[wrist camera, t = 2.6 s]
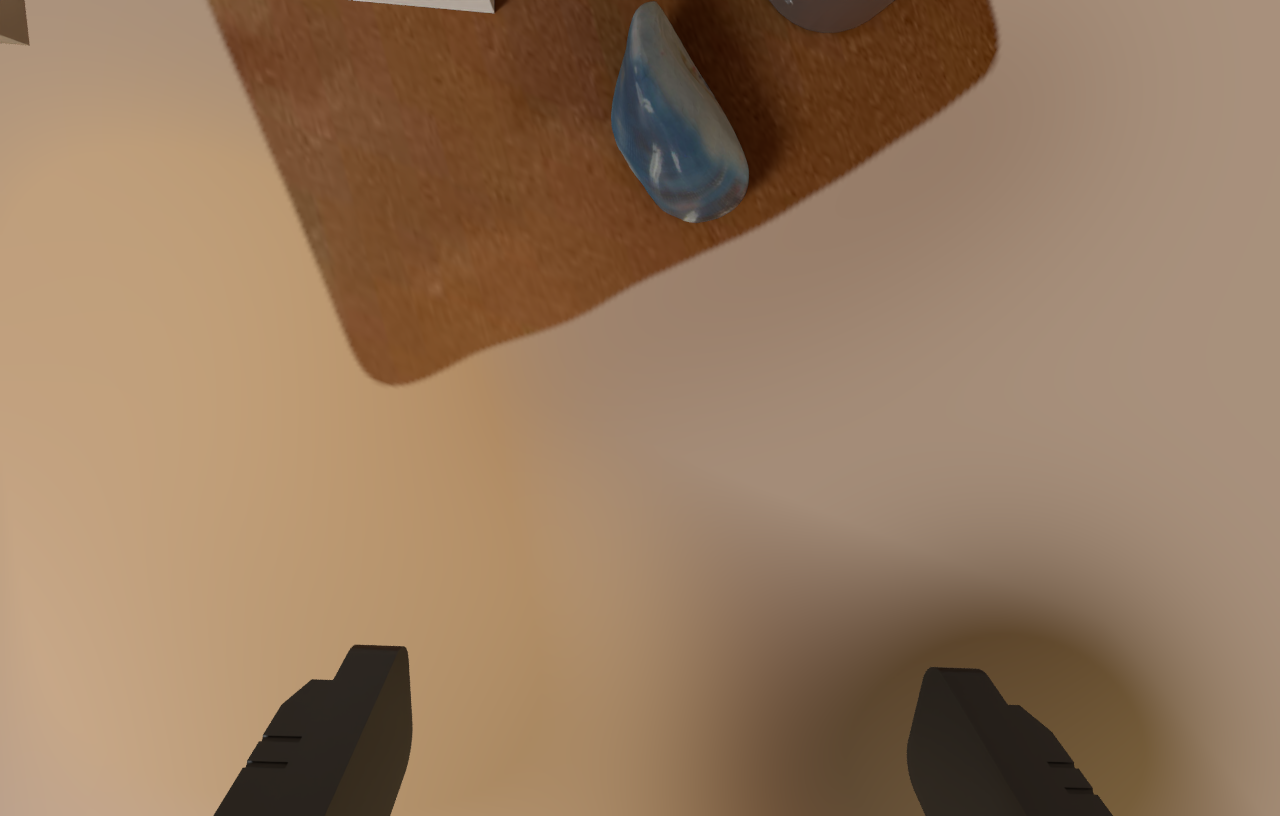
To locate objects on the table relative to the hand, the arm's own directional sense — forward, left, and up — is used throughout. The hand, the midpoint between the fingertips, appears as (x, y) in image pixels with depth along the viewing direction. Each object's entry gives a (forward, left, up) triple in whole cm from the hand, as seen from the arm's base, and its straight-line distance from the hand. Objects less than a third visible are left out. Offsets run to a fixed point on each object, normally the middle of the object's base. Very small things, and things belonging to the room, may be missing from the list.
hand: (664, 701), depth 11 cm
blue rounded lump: (-11, -10, -36) cm, 39 cm away
